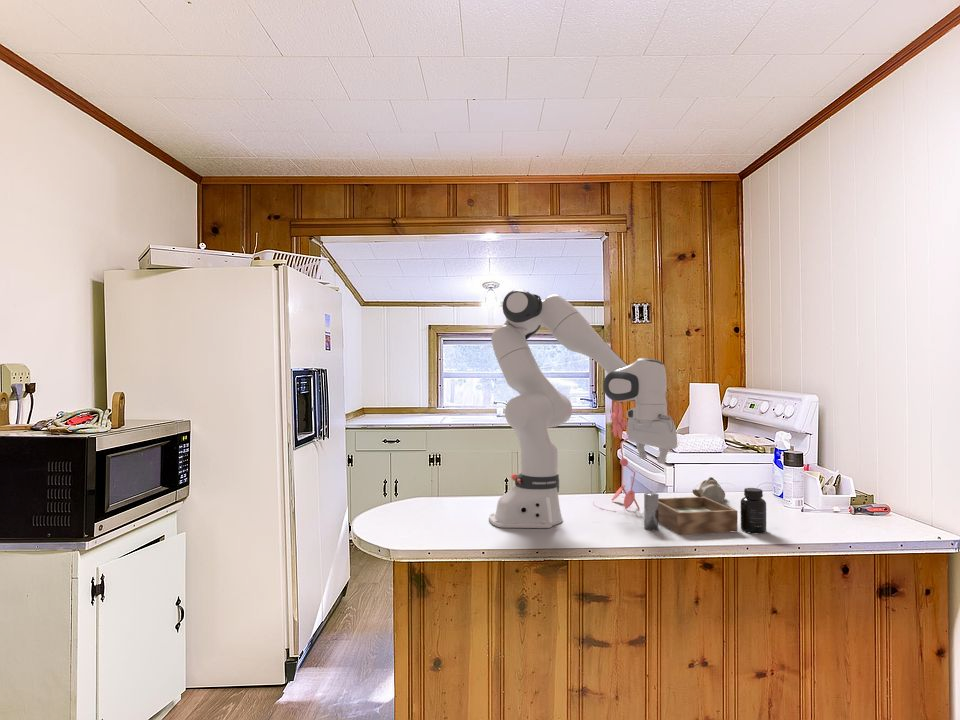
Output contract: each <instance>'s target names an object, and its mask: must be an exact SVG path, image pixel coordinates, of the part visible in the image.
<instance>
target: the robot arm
mask: <svg viewBox="0 0 960 720" xmlns="http://www.w3.org/2000/svg"><path fill="white" fill-rule="evenodd" d="M502 301H503V302H502V313H503V315H504V316H505V319H506V321H505V322H504V324H503V325H500V326H498V327H497V328H495V330H494V331H493V332H492V334H491V336H490V337H491V338H490V340H491V344H492V345H491V346H492V348H493V351H494V355H495V359H496V361H497V363H498V365H499V367H500V370H501V372H502V374H503V377H504V379H505V381H506V383H507V385H508V386H509V387H510V388H511V389H512V390H514V391H516V392H517V393H518V394H519V395H517V396H514V397H512V398H510V399H509V400H508V402H507V403H506V405H505V409H504V416H505V419H506V422H507V424H508V425H509V426H510V427H511V428H512V429H513V430H514V432H515V434H516V437H517V438H518V441H519V446H520V458H521V460H520V461H521V462H520V464H521V465H520V466H521V473H519V474H516V473H512V474H511V476H510V478H511V480H513V481H514V486H513V487H512V488H511V489H509V490H508V491H507V492H505V493H504V494H503V495H501V496H500V497H499V499H498V500H497V504H496V509H495V512H492V513H490V514H489V516H488V517H489V518H488V521H489V522H490V524H492V525H493V526H495V527H497V528H504V529H505V528H509V529H511V528H512V529H513V528H516V529H518V528H522V529H523V528H525V529H526V528H527V529H529V528H530V529H532V528H533V529H549V528H552V527H554V526H556V525H558V524H560V523H562V522H563V521H564V520H563V517H562V513H561V512H562V511H561V508H560V507H561V506H560V500H559V491H560V477H559V476H560V474H559V473H558V448H557V446H556V445H555V444H554V443H552V441H551V439H550V437H549V432H548V429H549V428H557V427H559V426H560V425H563V424H564V423H566V422H569V420H570V418H571V417H572V413H573V405H572V403H571V400H570V399H569V398H568V397H567V396H566V395H564V394H563V393H562V392H560V391H559V390H558V389H557V388H555V386H554V385H553V384H552V383H551V382H550V381H549V379H548V378H547V377H546V376H545V375H544V372H543V371H542V370H541V368H540V367H539V364H538V362H537V361H536V360H537V359H535V356H534V355H533V352H532V350H531V349H530V346H529V344H528V342H527V340H528V339H529V338H530V337H532V336H534V335H535V334H536V333H537V332H538V331H539V330H540V328H541V326H542V327H544V328H545V329H547V330H548V331H549V332H550V334H551V335H552V336H553V337H554V338H555V340H556V341H557V342H558V343H559V344H561V345H562V346H563V347H564V348H566V349H567V350H568V351H571V352H575V353H578V354H580V355H584V356H585V357H588V358H591V359H592V361H593V360H594V362H596V363H597V364H598V365H599V366H600V367H601V368H602V369H603V370H604V371H605V372H606V373H607V375H606V376H605V377H604V379H603V383H602V388H603V392H604V394H605V395H606V397H607V398H608V399H609V400H611V401H615V402H619V403H622V402H635V406H634V407H632V408H631V409H630V408H629V410H627V411H626V418H627V422H626V424H627V429H628V435H627V438H629V439H628V440H629V442H631V443H632V442H633V443H635V445H636V449H637V451H638V458H639V459H642V460H644V459H647V456H648V455H647V454H648V453H647V452H646V450H645V447H646V446H651V447H655V448H658V452H659V455H658V456H657V457H656V459H657V460H656V462H657V463H658V464H662V465H663V464H666V457H667V455H668V453H669V450H674V449H675V450H676V448H677V446H678V437H677V436H678V435H677V427H676V424H675V421H674V420H673V418H672V417H671V416H670V415H668V402H667V399H666V393H667V387H668V386H667V385H668V384H667V373H666V367H665V364H664V363H663V362H662V361H660V360H659V359H654V358H647V357H640V358H637V359H636V360H635V361H633V362H632V363H630V364H628V363H627V362H626V361H625V360H623V358H622V357H620V355H619V354H618V353H616V351H614V349H612V348H611V347H610V346H609V345H608V344H607V343H606V342H605V341H604V340H603V339H602V337H601V336H600V335H599V334H598V332H597V331H596V330H595V329H594V328H593V326H592V325H591V324H590V322H589V321H588V320H587V319H586V317H584V316H583V315H582V313H581V312H580V311H579V310H578V309H577V308H576V307H575V306H574V305H573V304H572V303H570V302H569V301H568V300H566V299H565V298H564V297H563V296H561V295H558V294H551V295H549V296H547V297H545V298H543V299H542V298H541V297H540V295H539V294H534V293H531V292H529V291H526V290H524V289H513V290H511V291H510V292H508V293H507V294H506V295H505V296H504V299H503V300H502ZM645 445H646V446H645Z"/></svg>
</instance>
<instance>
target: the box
mask: <svg viewBox="0 0 960 720" xmlns="http://www.w3.org/2000/svg"><path fill="white" fill-rule="evenodd" d="M658 524H661V525H662V526H664V527H666V528H667V529H669V530H670V531H673V532H674V533H676V534H677V535H694V534H695V535H696V534H713V533H714V532H719V533H731V532H730V531H737V532H738V510H737V509H734V508H732V507H730V506H727V505H725V504H722V503H718V502H716V501H713V500H711V499H709V498H706V497H697V496H691V497H690V496H688V497H685V496H684V497H666V498H665V497H664V498H663V497H662V498H661V497H660V498H659V497H658ZM714 534H715V533H714Z"/></svg>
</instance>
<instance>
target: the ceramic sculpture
mask: <svg viewBox="0 0 960 720" xmlns="http://www.w3.org/2000/svg"><path fill="white" fill-rule="evenodd" d="M698 488H699V489H696V488H694V489H692V494H693V495H694V497H706V498H709V499H711V500H713V501H716V502H718V503H720V504H722V503H723V502H724V500H725V498H726V492H725V490H724V489H723V487H722V486H721V485H720V484H719V482H718V481H717V480H716V479H715V478H714V477H711V476H710V477H708V478H707V479H705V480H703V481H702V482H701V483H700V486H699V487H698Z"/></svg>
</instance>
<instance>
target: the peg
mask: <svg viewBox="0 0 960 720" xmlns="http://www.w3.org/2000/svg"><path fill="white" fill-rule="evenodd" d="M643 495H644V496H643V499H644V500H643V504H644V505H643V506H644V507H643V509H644V510H643V512H644V513H643V515H644V516H643V517H644V518H643V529H644V530H647V531H658V530H659V522H658V498H659V493H656V492H645V493H643Z"/></svg>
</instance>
